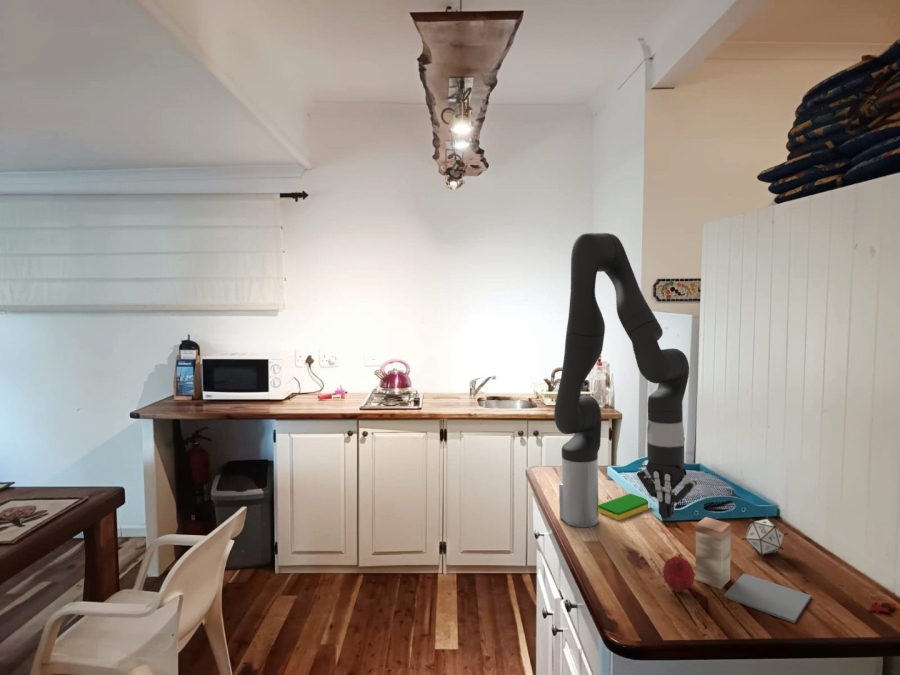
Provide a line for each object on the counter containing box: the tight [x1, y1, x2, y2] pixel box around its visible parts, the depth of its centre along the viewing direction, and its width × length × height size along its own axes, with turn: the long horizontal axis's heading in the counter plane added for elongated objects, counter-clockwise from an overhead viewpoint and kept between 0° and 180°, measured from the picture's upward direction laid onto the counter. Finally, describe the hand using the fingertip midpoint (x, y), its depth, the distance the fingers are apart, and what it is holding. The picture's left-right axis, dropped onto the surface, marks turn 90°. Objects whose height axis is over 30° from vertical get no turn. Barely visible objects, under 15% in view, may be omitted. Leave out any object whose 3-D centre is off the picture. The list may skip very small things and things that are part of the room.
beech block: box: [695, 516, 732, 590], centre depth 110 cm, size 5×5×12 cm
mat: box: [723, 572, 812, 624], centre depth 104 cm, size 12×11×1 cm
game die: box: [740, 515, 789, 559], centre depth 120 cm, size 9×8×10 cm
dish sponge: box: [598, 493, 649, 521], centre depth 147 cm, size 7×14×2 cm, turn 123°
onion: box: [662, 552, 695, 593], centre depth 107 cm, size 6×6×8 cm
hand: (666, 517), depth 117 cm, fingers closed
